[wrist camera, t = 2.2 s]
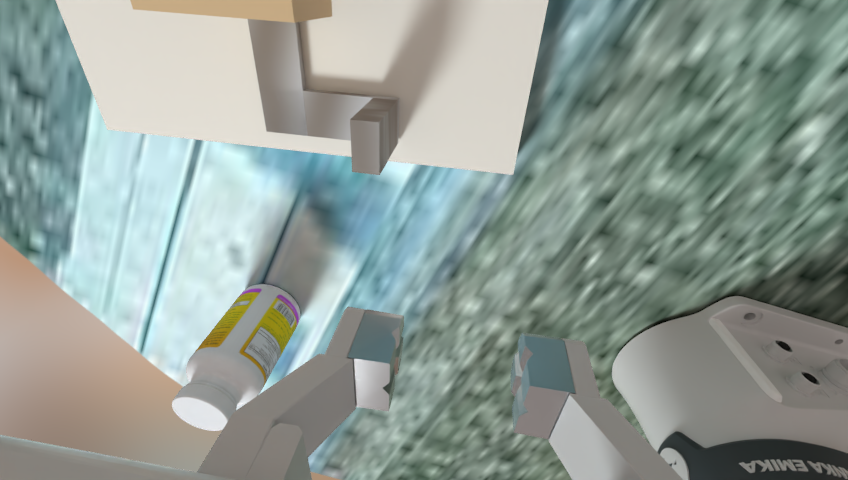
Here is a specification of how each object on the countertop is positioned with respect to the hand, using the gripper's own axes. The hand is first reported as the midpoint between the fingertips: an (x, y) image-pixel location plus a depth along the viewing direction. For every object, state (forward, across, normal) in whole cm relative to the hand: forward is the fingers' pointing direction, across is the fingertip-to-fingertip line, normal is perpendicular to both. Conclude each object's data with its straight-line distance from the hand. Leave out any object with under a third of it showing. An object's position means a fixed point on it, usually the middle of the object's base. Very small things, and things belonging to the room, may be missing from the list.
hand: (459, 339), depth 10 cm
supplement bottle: (+21, +19, +22) cm, 36 cm away
